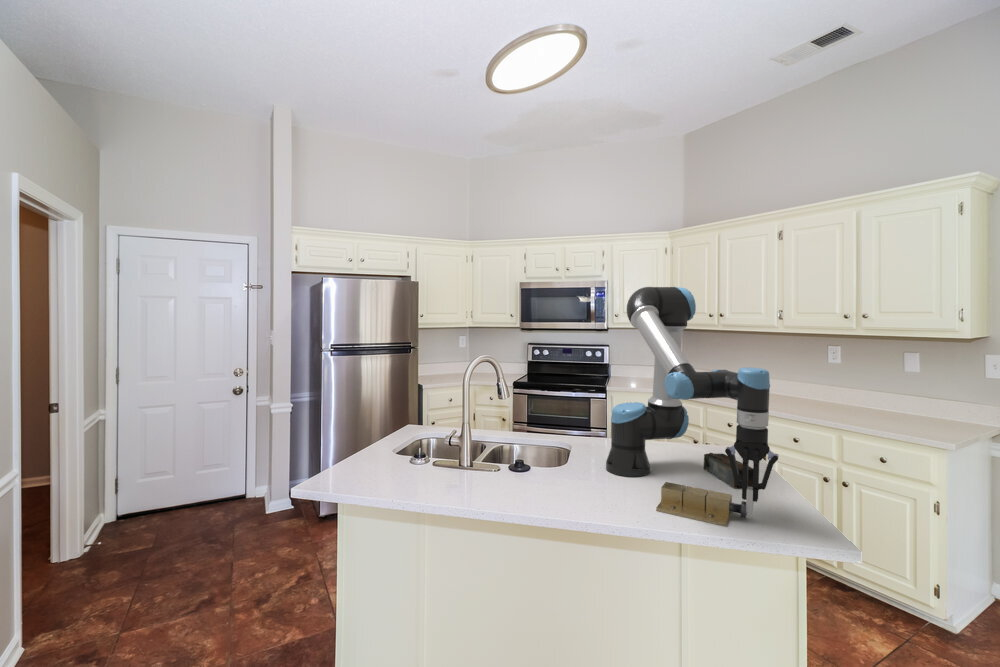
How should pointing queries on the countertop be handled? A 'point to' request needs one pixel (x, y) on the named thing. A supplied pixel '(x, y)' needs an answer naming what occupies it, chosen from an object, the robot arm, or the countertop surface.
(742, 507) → the hinge pin
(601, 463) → the countertop surface
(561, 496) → the countertop surface
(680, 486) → the hinge
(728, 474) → the dark brown rectangular block
